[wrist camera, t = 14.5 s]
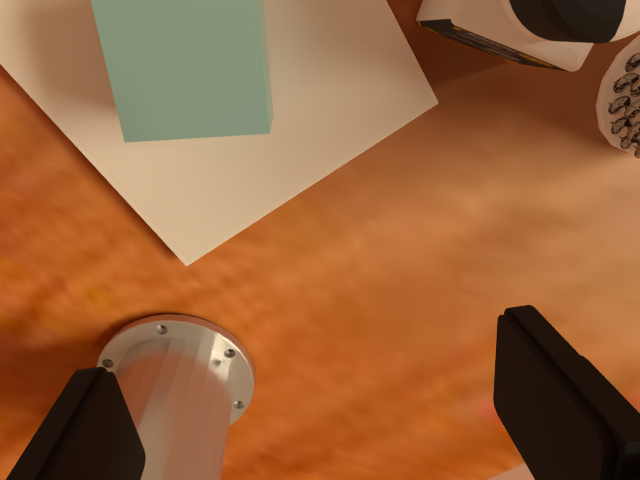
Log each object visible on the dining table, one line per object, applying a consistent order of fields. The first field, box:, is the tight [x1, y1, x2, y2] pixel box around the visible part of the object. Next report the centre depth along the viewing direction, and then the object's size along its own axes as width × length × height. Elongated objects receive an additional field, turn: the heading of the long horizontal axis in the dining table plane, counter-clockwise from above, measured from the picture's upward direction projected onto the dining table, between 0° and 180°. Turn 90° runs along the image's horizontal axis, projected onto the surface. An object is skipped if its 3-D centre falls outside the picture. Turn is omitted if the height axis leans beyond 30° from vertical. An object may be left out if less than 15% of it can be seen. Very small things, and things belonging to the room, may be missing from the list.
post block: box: [0, 0, 439, 266], centre depth 24 cm, size 20×20×6 cm
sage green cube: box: [91, 0, 273, 143], centre depth 22 cm, size 7×7×5 cm
